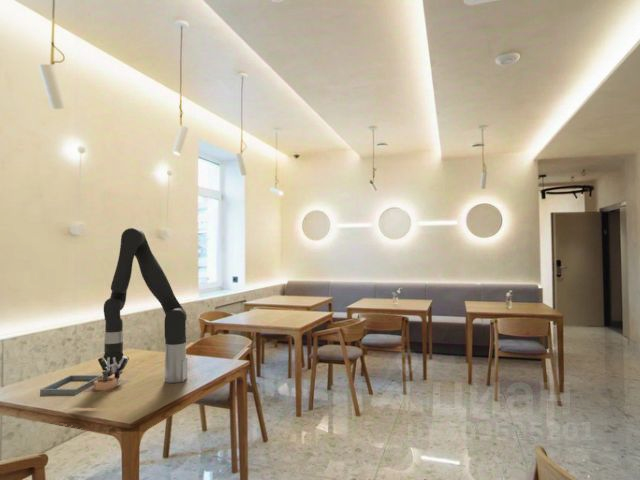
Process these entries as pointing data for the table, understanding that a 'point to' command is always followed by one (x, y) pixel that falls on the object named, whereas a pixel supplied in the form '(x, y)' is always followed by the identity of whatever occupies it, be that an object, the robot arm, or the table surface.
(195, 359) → the table surface
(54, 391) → the tray
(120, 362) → the donut
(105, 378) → the panel
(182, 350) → the robot arm
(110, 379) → the ring
